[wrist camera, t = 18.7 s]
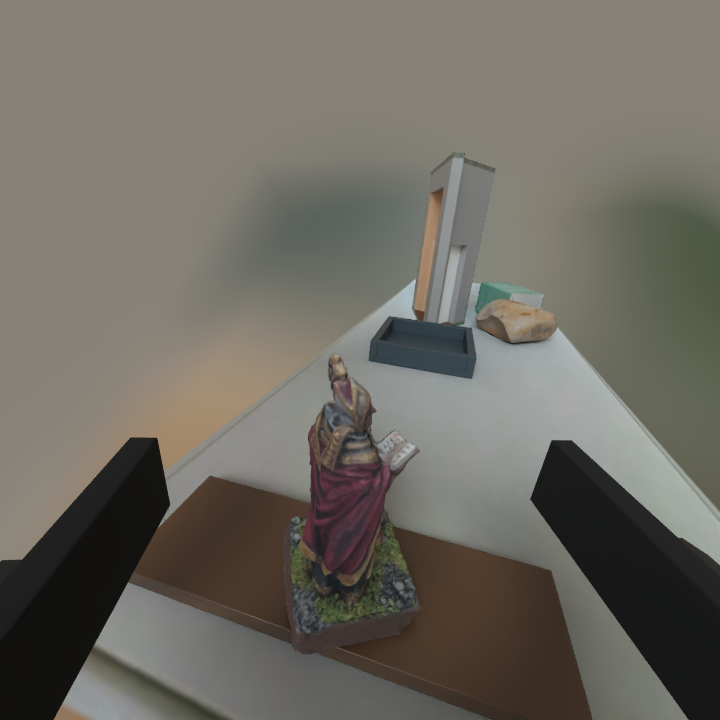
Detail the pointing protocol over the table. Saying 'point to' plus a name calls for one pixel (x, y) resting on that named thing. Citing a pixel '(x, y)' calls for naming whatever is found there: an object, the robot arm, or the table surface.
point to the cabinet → (451, 239)
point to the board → (418, 639)
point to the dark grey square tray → (425, 346)
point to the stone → (516, 321)
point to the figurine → (347, 530)
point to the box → (507, 294)
